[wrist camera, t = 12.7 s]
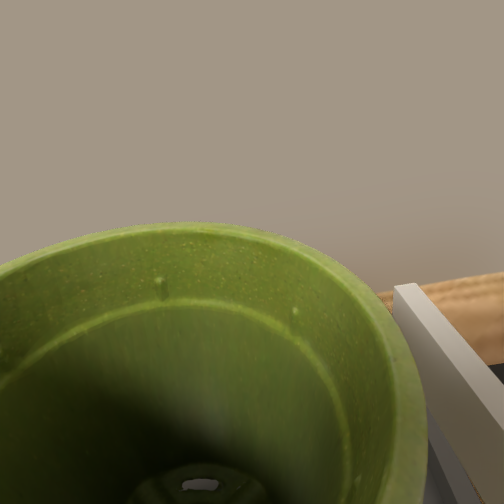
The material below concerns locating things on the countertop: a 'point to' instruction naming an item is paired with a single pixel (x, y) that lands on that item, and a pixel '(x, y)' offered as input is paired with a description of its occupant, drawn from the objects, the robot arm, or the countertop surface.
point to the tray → (437, 480)
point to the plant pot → (202, 374)
